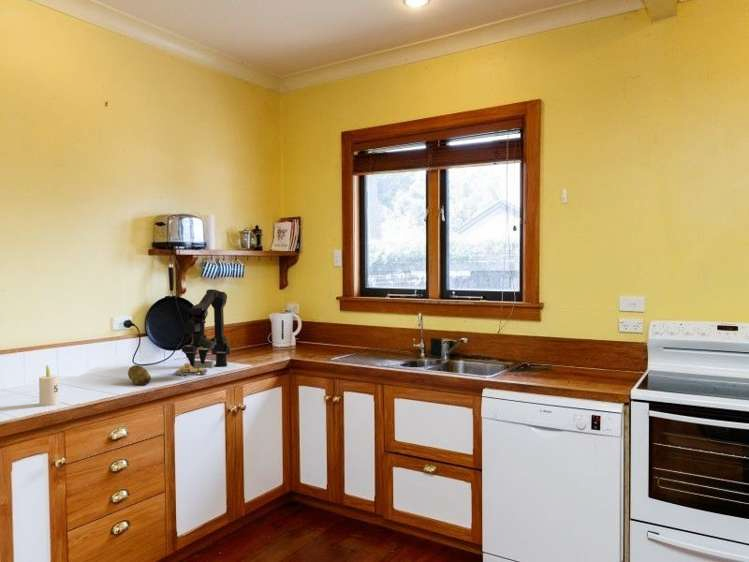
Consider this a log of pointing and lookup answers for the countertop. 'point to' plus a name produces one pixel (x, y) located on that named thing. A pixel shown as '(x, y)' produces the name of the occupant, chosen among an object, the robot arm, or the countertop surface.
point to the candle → (48, 389)
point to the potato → (139, 375)
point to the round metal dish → (190, 372)
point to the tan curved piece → (196, 366)
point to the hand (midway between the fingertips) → (197, 365)
